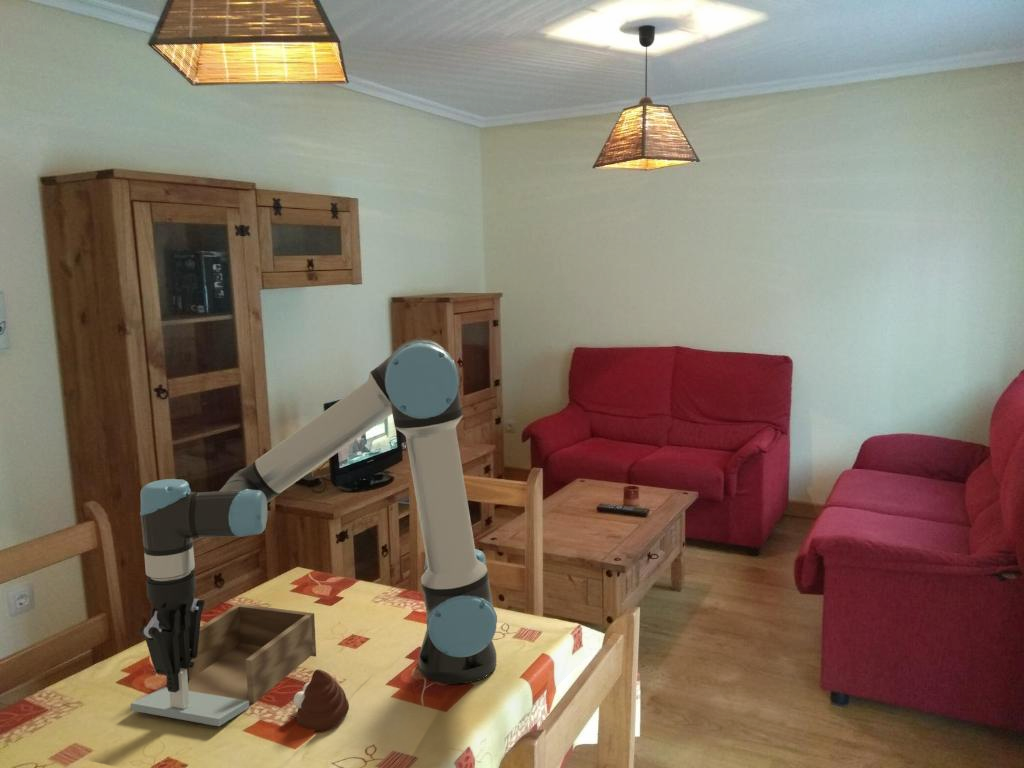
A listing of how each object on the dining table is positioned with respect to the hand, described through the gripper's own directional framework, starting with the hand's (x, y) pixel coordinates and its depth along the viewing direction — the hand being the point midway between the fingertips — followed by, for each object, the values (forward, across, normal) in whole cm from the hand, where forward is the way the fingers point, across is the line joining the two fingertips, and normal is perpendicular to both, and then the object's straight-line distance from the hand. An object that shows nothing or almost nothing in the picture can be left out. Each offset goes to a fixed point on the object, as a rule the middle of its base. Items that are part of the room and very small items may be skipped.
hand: (180, 705), depth 134 cm
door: (+2, -6, 0) cm, 7 cm away
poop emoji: (+4, -8, +22) cm, 24 cm away
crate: (+3, -18, 0) cm, 18 cm away
